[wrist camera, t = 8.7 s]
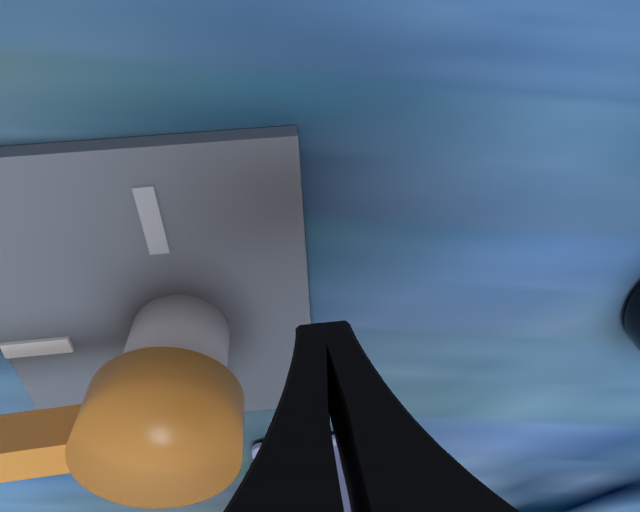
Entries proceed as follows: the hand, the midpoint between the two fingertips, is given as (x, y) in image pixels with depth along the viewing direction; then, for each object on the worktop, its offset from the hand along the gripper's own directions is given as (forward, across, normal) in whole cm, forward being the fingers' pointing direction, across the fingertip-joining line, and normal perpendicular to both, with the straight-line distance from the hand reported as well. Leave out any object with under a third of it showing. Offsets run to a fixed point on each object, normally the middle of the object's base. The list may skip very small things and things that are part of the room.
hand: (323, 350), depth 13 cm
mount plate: (+9, +7, +4) cm, 13 cm away
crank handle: (+4, +10, +6) cm, 12 cm away
